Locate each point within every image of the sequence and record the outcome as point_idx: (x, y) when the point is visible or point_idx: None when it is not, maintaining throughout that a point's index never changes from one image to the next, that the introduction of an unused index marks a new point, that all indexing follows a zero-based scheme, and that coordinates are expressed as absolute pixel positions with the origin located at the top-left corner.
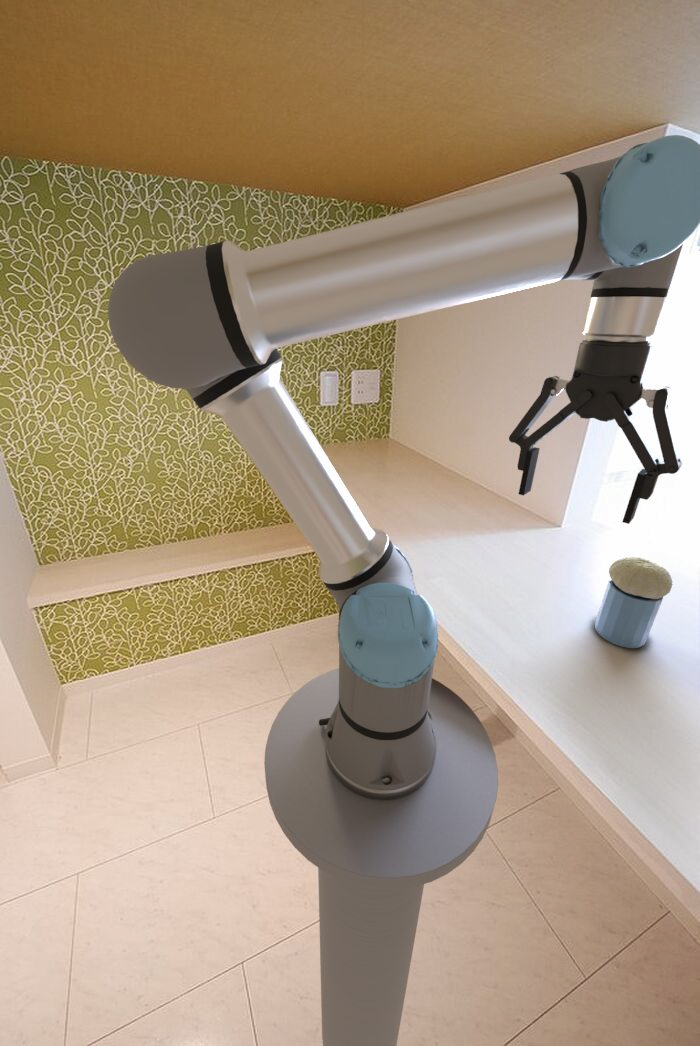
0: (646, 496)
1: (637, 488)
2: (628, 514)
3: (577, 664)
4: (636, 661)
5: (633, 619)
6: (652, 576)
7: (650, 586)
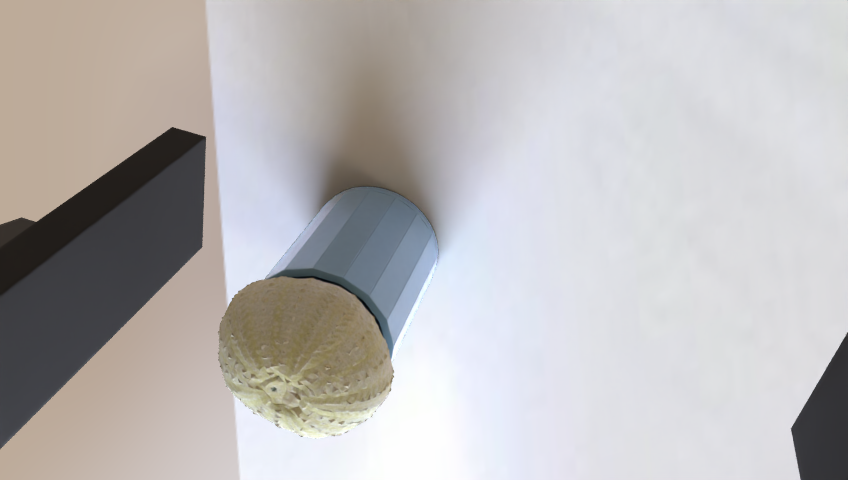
0: (13, 229)
1: (30, 241)
2: (157, 155)
3: (468, 48)
4: (329, 139)
5: (328, 232)
6: (258, 333)
7: (266, 299)
